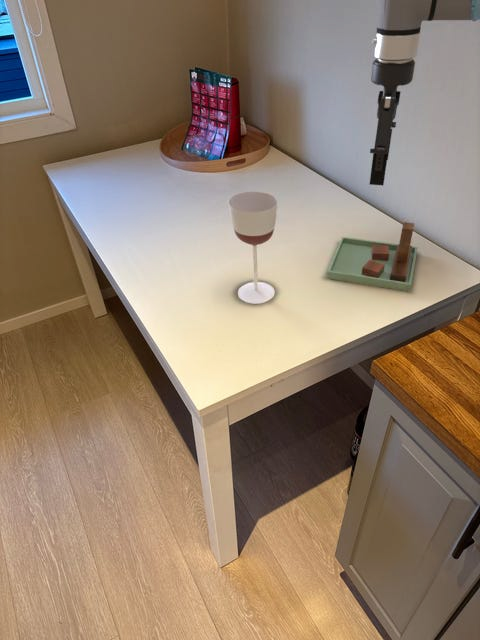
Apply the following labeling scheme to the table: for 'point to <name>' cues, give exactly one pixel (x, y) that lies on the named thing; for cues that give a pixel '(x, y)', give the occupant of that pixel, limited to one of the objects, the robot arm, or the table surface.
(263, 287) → the wineglass
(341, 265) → the tray
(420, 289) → the table surface
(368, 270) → the chip
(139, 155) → the table surface
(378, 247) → the chip
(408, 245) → the brown piece
